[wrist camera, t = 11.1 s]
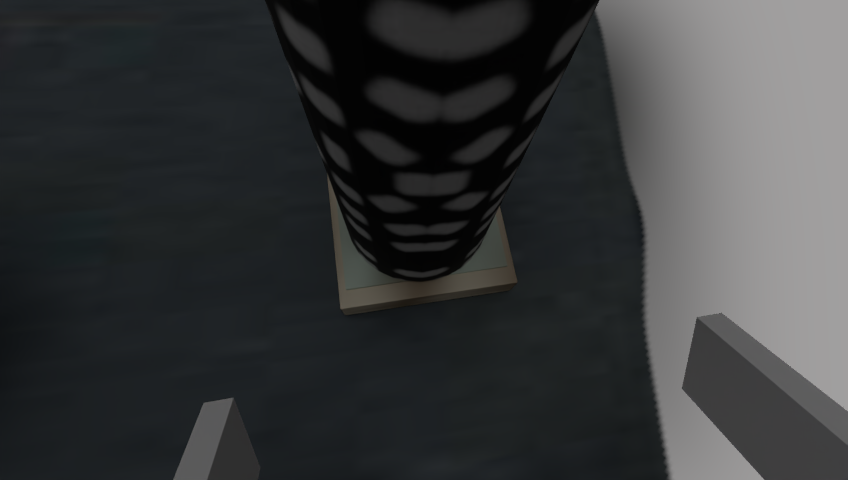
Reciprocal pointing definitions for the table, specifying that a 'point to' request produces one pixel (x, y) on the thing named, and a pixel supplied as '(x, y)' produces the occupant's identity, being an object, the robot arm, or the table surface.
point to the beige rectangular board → (379, 291)
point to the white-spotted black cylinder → (425, 112)
